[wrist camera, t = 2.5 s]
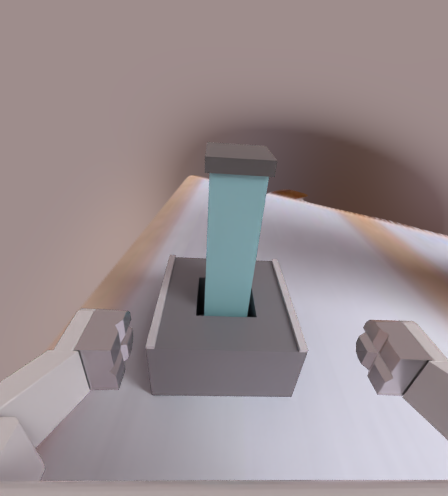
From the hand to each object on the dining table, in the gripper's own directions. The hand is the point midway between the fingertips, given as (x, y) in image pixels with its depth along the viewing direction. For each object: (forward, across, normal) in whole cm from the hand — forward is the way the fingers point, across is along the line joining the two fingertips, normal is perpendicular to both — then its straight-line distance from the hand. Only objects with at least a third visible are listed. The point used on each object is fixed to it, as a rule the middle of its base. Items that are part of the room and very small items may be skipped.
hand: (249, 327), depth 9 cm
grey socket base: (+13, 0, +16) cm, 20 cm away
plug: (+13, 0, +15) cm, 19 cm away
